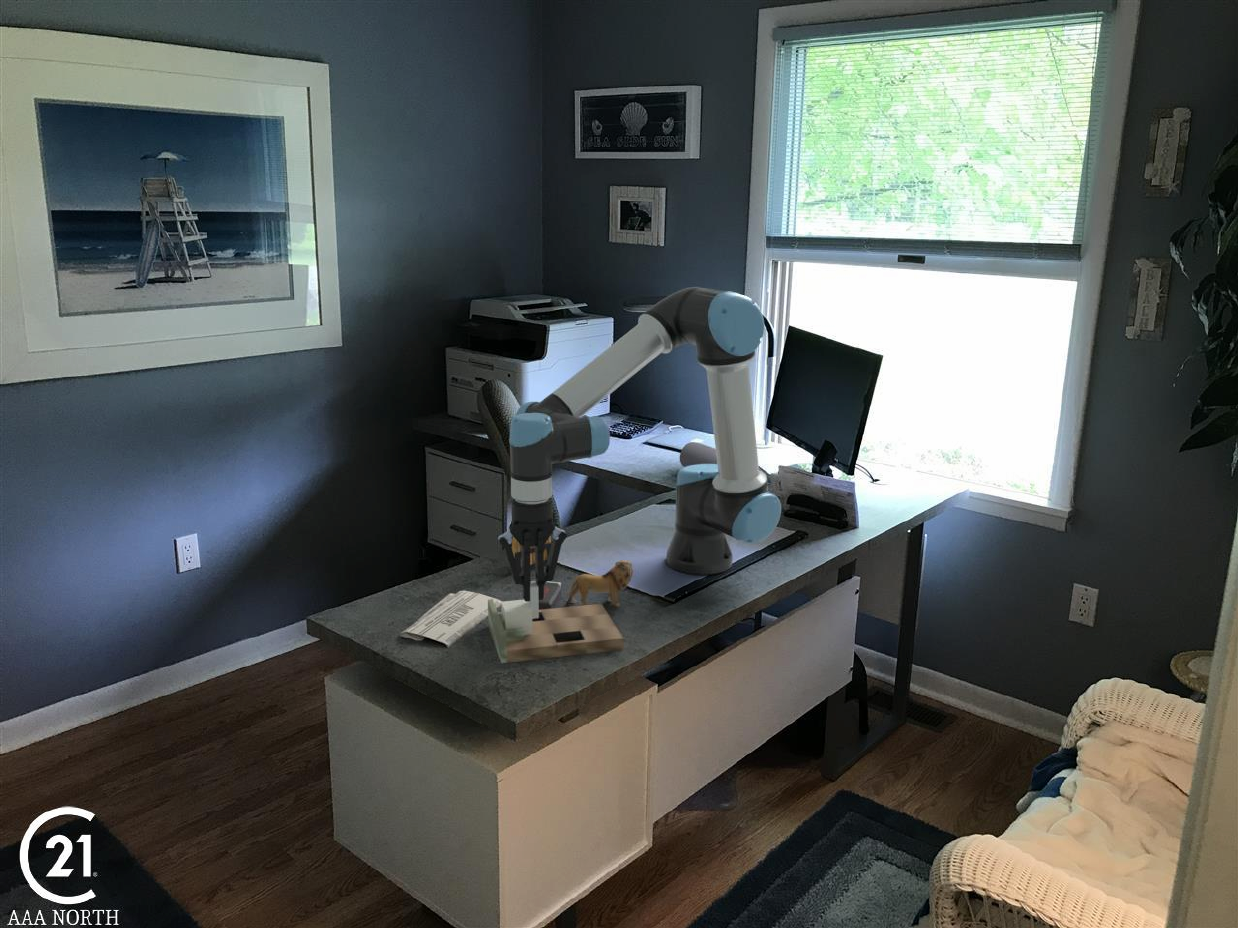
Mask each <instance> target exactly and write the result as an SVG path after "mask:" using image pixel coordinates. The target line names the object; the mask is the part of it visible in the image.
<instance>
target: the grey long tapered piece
mask: <svg viewBox="0 0 1238 928" xmlns="http://www.w3.org/2000/svg"><path fill="white" fill-rule="evenodd" d="M679 463H680V464H681V466H682V468H684V467H686V466H691V465H697V464H717V457H716V448H714V447H712V446H710V445H706V444H703V443H701V442H700V443H699V442H696V441H695V442H694V441H691V442H687V443H686V444H685V445H684V446H683V447H682V449H681V451H680V453H679Z"/></svg>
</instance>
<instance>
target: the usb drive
mask: <svg viewBox="0 0 1238 928" xmlns="http://www.w3.org/2000/svg"><path fill="white" fill-rule="evenodd" d="M561 587H562V583H561V582H559V581H558V582H557V581H547V582H545V585H544V598H543V600H539V610H543V609H553V608H556V606H557V604H558V603H559V601H560V600H561V598H562V588H561Z"/></svg>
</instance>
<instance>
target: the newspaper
mask: <svg viewBox="0 0 1238 928" xmlns="http://www.w3.org/2000/svg"><path fill="white" fill-rule="evenodd" d="M492 599H493V601H494V604H495V606H496V609H497V610H498V609H499V608H500V607H501V602H503V601H501V600H500V599H498V598H494V597H491V596H488V595H485V594H481V593H478V592H474V591H468V590H459V591H458V592H456V593H451V592H450V593H449V594H447V595H446V596H444V598H442V599H441V600H440V601H439V602H437V603H436V604H435V605H434V606H433V607H432V608H430V609H429V610H428V611H426V613H424V614H423V615H422V616H421V617H420V618H419V619H418V620H417V621H416V622H414V623H413V624H411V625H409V627H406V629H405V630H403V631H402V632H400V637H401V638H402V637H403V638H406V639H412V640H415V641H423V640H424V639H425V638H429V639H431V640H435V641H437V642H440V643H443V644H445V645H446V647H447V648H450V647H451V646H452V645H453V644H454V643H456V642H457V641H459V640H460V638H462V637H463V636H465V635H466V634H467V633H468V632H470V631H471V630H472V629H474V628H475V627H476V626H477V625H479V624H480V623H481V622H483V621H484V620H485V619H486V618H488V600H492Z"/></svg>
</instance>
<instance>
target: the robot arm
mask: <svg viewBox="0 0 1238 928" xmlns="http://www.w3.org/2000/svg"><path fill="white" fill-rule="evenodd" d="M637 320H638V321H637V322H638V323H637V325H635V326H634V327H633V328H631V329H629V331H628V332H627V333H625V334H624V335H623V336H621V337H620V338H619V339H618V340H616V341H615V342H614V343H613V344H611V345H610V346H609V347H608V348H606V349H605V350H604V351H602V352H601V353H600V354H599V355H598V356H597V357H595V358H594V359H593V360H591V361H590V362H589V363H587V364H586V365H585V366H584V367H583V368H582V369H580V370H579V371H577V372H576V373H575V374H574V375H573V376H571V377H570V378H569V379H568V380H566V381H565V382H563V384H561V385H560V386H559V387H558V388H556V389H554V391H553V392H551V393H550V394H549V395H548V396H546V397H544V398H543V399H542V400H541V401H528V402H524V403H523V404H522V405H521V406H519V408H517V411H516V413H515V415H514V416H513V417H512V418H511V421H510V425H509V439H508V443H509V453H510V454H509V455H510V496H511V498H512V499H511V502H510V504H511V505H510V506H511V510H510V511H511V513H510V514H511V522H510V523H509V527H508V530H507V531H505V532H504V533H499V534H498V535H497V540H498V542H499V543H500V545H501V546H502V547H503V549H504V552H505V555H506V556H505V557H506V560H507V563H508V566H509V569H510V570H511V572H510V573H511V577H512V579H513V582H514V583H515V585H521V586H522V597H523V600H525V602H526V601H528V602H529V604H530V606H531V609H532V619H534V618H539V600H543V598H544V585H545V582H547V581H548V582H553V580H554V578H555V573H556V569H557V564H558V560H559V557H560V553H561V549H562V545H563V543H564V541H565V540H566V539H567V536H568V534H567V533H566V531H565V530H564V529H563V528H561V527H560V528H559V527H557V526H556V524H555V522H554V520H553V519H554V518H553V499H552V496H553V464H560V463H564V462H571V461H577V460H582V459H591V458H593V457H597V456H601V455H603V454H605V453H606V452H607V450H608V449H609V446H610V442H611V439H610V437H611V434H610V433H611V432H610V429H609V426H608V424H607V422H606V421H605V420H604V419H603V418H602V417H601V416H595V415H593V416H589V415H586V414H588V413H589V412H590V411H591V410H592V409H594V408H595V407H596V406H597V405H599V404H600V403H601V402H602V401H604V399H606V398H607V397H608V396H610V395H611V394H612V393H613V392H614V391H616V390H617V389H618V388H619V387H621V386H622V385H623V384H625V383H626V382H627V381H628V380H630V379H631V378H632V377H633V376H635V374H637V373H638V372H639V371H641V370H642V369H643V368H644V367H645V366H646V365H648V364H649V363H650V362H651V361H653V360H654V359H655V358H657V357H658V356H659V355H661V354H669V353H671V351H673V350H674V349H675V348H677V347H679V346H681V345H693V346H695V350H696V357H697V359H696V360H697V362H698V364H699V365H700V366H702V367H703V368H704V369H705V371H706V377H707V387H708V395H709V402H710V403H709V404H710V411H711V421H712V429H713V431H712V432H713V438H714V445H715V446H714V447H715V449H716V457H717V464H697V465H691V466H686V467H682V468H680V470H678V472H677V477H676V483H675V524H674V527H675V528H674V532H673V535H672V536H671V539H670V542H669V546H668V547H667V550H666V564H667V565H668V566H669V567H670V568H672V569H673V570H675V571H677V572H681V573H685V574H689V575H691V574H692V575H703V576H704V575H707V576H708V575H715V574H720V573H724V572H726V571H729V569H731V567H732V566H733V552H732V548H731V545H730V541H729V537H731V538H734V539H735V540H737V541H739V542H741V541H742V542H744V543H747V544H756V543H760V542H762V541H764V540H766V539H767V538H768V537H769V536H770V535H771V534H772V533H773V532H774V530H775V528H776V527H777V525H778V524H779V521H780V518H781V514H782V505H781V501H780V500H779V498H778V497H777V496H776V495H775V494H774V493H773V492H772V493H771V492H770V491H769V487H768V478H767V475H766V473H765V472H764V471H762V470H761V469H760V468H759V458H758V457H759V456H758V448H757V437H756V428H755V427H756V426H755V418H754V408H753V397H752V387H751V377H750V375H751V374H750V367H749V366H750V365H749V364H750V363H751V362H752V360H754V358H755V357H756V352H755V350H757V348H758V347H759V345H760V344H761V343H762V342H761V341H762V340H761V338H763V337H764V334H765V320H764V315H763V312H762V310H761V308H760V306H759V305H758V304H757V303H756V301H755V300H753V299H752V298H751V297H749V296H746V295H744V294H740V293H738V292H734V291H724V290H716V289H712V288H706V287H701V286H690V287H685V288H683V289H680V290H677V291H675V292H674V293H671V294H669V295H668V296H665V298H663V299H661V300H660V301H658V302H657V303H656V304H654V305H653V306H651V307H650V308H649V309H647V310H646V311H644V312H643V313H642V314H641V315H640V316H639V317H638V319H637ZM583 416H585V417H583ZM513 536H514V538H515V539H516V540H517V541H518V542H519V544H520V545H521V553H522V573H521V575H520V573H519V572H518V568H517V565H516V561H515V558H514V554H513V551H512V538H513ZM551 536H552V540H551V542H552V545H551V549H550V553H549V557H548V561H547V565H545V566H544V544H545V543H546V541H547V540H548V538H549V537H550V538H551ZM728 536H729V537H728ZM532 546H535V569H534V573H535V580H532V581H531V570H530V552H531V547H532ZM510 570H509V571H510Z"/></svg>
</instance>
